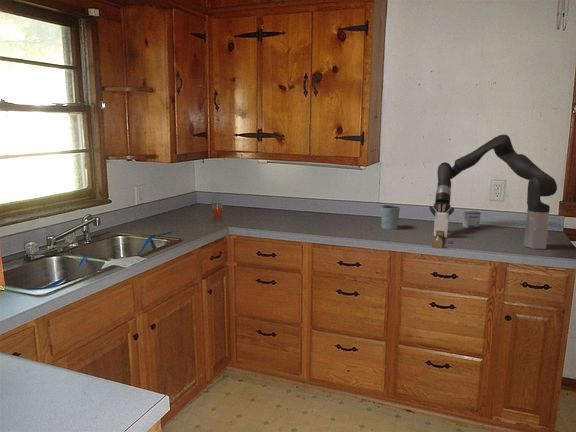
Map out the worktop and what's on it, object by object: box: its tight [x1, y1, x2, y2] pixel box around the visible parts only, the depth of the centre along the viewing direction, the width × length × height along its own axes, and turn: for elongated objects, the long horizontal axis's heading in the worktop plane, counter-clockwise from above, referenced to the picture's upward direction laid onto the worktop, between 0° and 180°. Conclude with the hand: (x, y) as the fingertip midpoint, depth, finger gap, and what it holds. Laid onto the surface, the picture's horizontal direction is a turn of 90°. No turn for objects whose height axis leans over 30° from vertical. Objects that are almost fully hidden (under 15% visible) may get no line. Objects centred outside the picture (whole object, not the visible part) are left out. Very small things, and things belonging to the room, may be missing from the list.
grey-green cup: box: [380, 204, 401, 231], centre depth 274 cm, size 10×10×12 cm
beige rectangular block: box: [433, 211, 450, 238], centre depth 255 cm, size 5×6×12 cm
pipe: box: [431, 230, 454, 249], centre depth 251 cm, size 38×9×3 cm, turn 160°
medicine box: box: [462, 210, 482, 229], centre depth 278 cm, size 8×4×9 cm, turn 105°
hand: (440, 223), depth 258 cm, fingers closed
